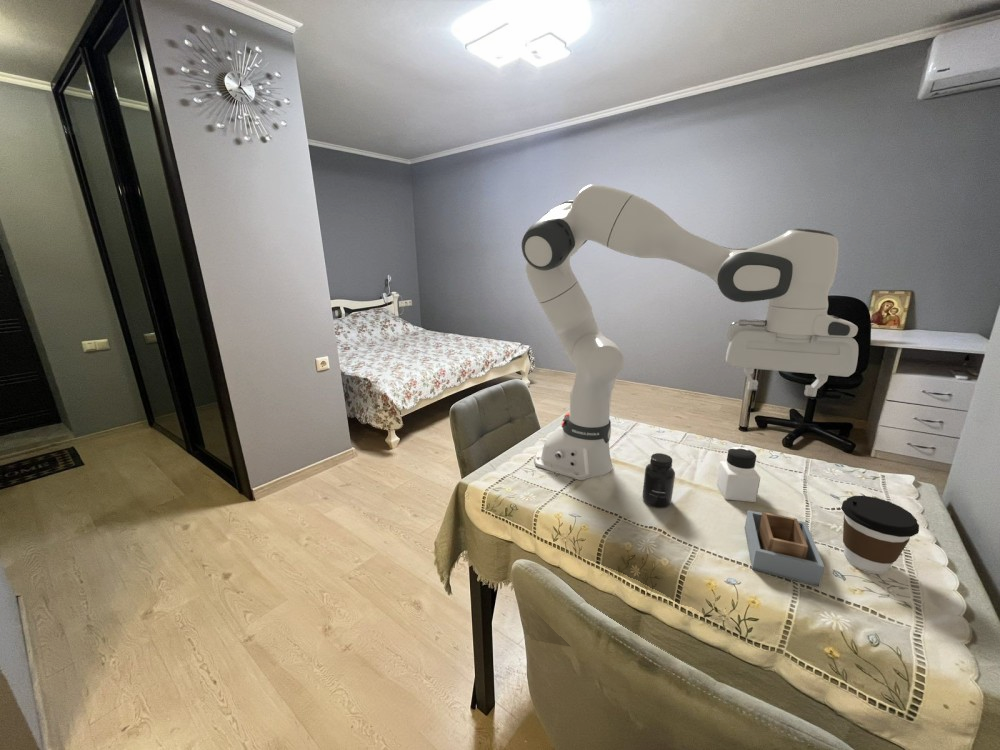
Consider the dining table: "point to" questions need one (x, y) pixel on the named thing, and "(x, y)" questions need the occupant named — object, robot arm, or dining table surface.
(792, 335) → the robot arm
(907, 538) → the coffee cup
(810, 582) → the grey crate
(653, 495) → the supplement bottle
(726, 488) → the medicine bottle
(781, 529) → the walnut crate
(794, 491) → the dining table surface
